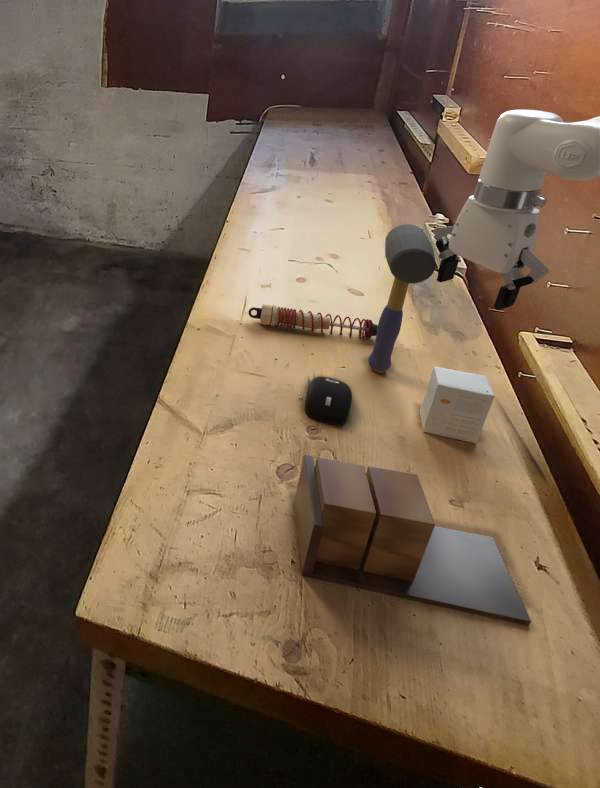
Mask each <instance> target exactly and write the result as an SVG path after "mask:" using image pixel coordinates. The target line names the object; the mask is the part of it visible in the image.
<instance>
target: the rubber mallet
mask: <svg viewBox="0 0 600 788" xmlns="http://www.w3.org/2000/svg"><path fill="white" fill-rule="evenodd" d="M384 241H385V242H384V243H385V244H384V253H385V254H384V256H385V260H386V262H387V266H388V268H389V271H390V273H391V275H392V276H393V277H394V278H393V281H392V282H393V283H392V287H391V289H390V294H389V296H388V301H387V304H386V305H385V306H384V308H383V310H382V312H381V314H380V317H379V321H378V323H377V325H378V327H377V336H375V341H374V344H373V349H372V352H371V353H370V355H369V356H368V359H367V363H368V365H369V367H370V369H371V370H372V371H373V372H374V373H378V374H384V373H386V372H387V371H388V370H390V368H391V366H392V354H393V350H394V347H395V344H396V341H397V339H398V336H399V334H400V332H401V327H402V322H403V317H404V316H403V315H404V312H403V309H404V304H405V301H406V297H407V294H408V293H407V292H408V289H409V285H410V284H418V283H422V282H424V281H426V280H428V279H430V277H432V275H433V274H434V273H435V270H436V265H437V263H436V256H435V251H434V247H433V245H432V242H431V239H430V238H429V237H428V235H427V233H426V232H425V231H424V230H423V228H421V227H419V226H418V225H414V224H409V223H408V224H400V225H397V226H395V227H393V228H392V229H390V231H388V233H387V234H386V237H385V240H384Z"/></svg>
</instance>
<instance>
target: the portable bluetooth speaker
mask: <svg viewBox="0 0 600 788" xmlns="http://www.w3.org/2000/svg"><path fill="white" fill-rule="evenodd" d="M307 387H308V388H307V391H306V394H305V401H304V412H305V414H306V415H307V416H309V417H311V418H313V419H316V420H319V421H323V422H326V423H329V424H333V425H338V426H342V425H345V424H346V423H347V421H348V419H349V416H350V411H351V407H352V402H353V393H352V390H351V387H350V386H349V385H348V384H347V383H346V382H344V381H341V380H339V379H336V378H333V377H328V376H316V377H314V378H313V379H312V380H311V381H310V383H309V385H308V386H307Z"/></svg>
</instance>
